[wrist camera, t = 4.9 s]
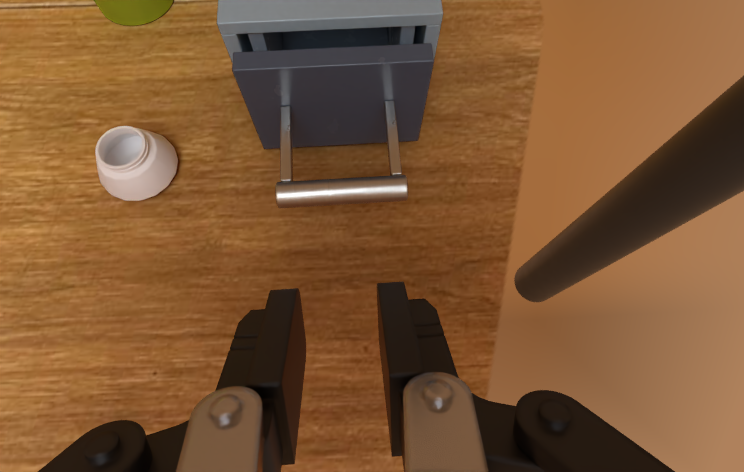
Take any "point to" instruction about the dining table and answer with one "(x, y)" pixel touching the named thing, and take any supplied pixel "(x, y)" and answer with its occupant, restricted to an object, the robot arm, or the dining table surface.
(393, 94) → the compartment
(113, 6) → the soap dispenser
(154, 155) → the white jar
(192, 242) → the dining table surface
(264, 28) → the drawer unit
